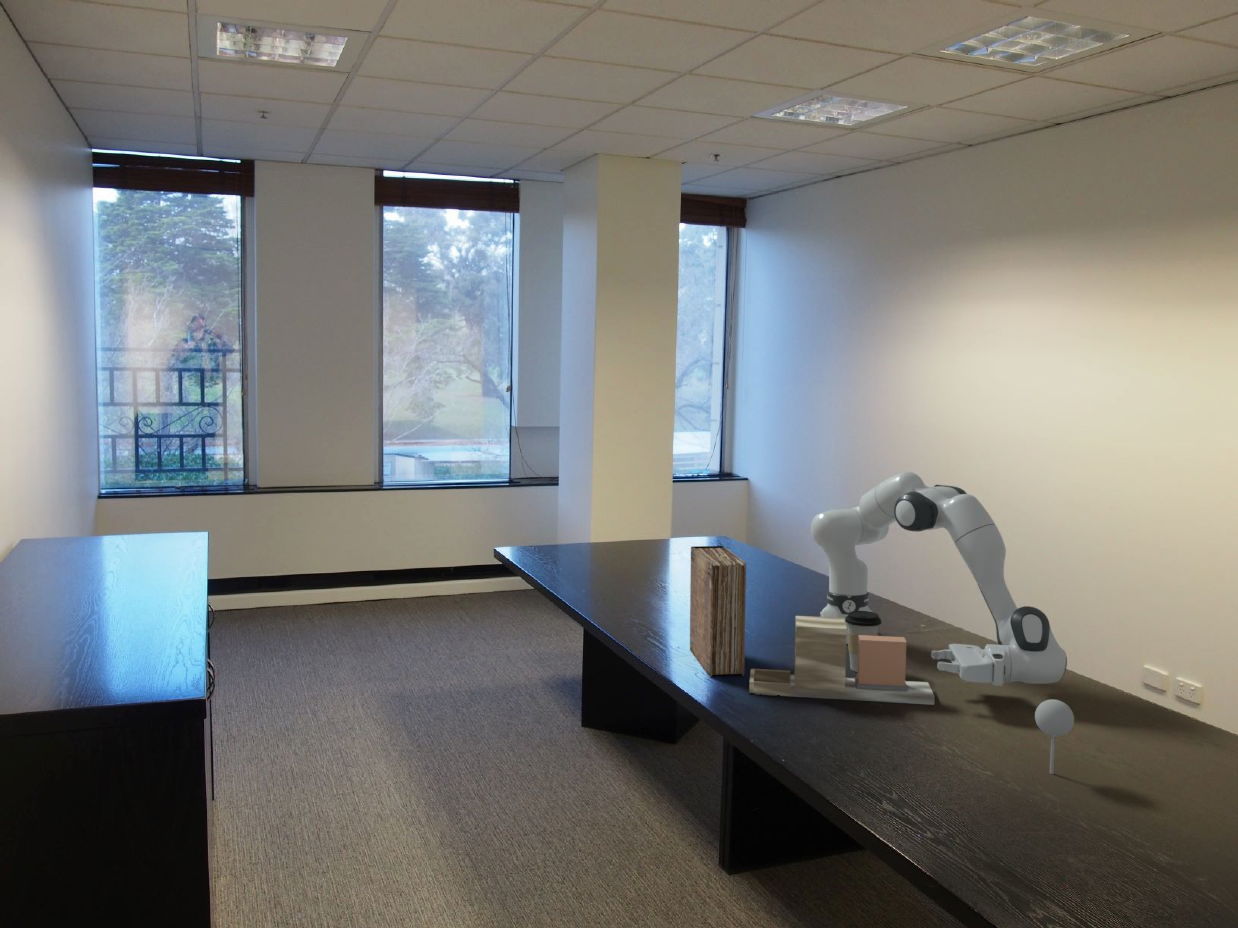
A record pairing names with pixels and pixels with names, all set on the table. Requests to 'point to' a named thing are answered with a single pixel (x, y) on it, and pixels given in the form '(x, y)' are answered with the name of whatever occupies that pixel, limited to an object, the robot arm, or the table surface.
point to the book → (717, 610)
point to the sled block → (881, 663)
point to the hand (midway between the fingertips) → (934, 660)
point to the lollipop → (1054, 722)
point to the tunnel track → (827, 669)
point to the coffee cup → (860, 631)
